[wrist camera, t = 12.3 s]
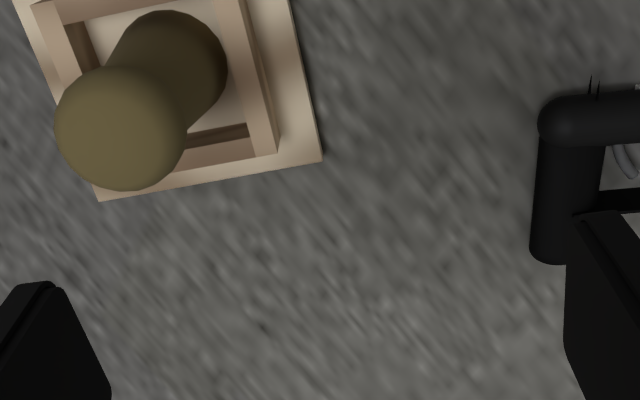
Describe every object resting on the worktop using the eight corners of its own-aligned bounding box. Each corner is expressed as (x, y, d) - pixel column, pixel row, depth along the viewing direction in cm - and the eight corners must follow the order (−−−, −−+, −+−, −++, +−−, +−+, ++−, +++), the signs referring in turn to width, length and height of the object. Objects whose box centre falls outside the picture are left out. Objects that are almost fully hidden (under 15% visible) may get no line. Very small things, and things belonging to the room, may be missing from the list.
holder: (7, -40, 32) (-30, -30, 28) (267, -100, 30) (259, -97, 27) (105, 192, 38) (84, 222, 35) (322, 152, 37) (322, 180, 33)
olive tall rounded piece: (209, -2, 31) (157, 53, 21) (241, 107, 34) (207, 200, 24) (99, 22, 32) (0, 87, 22) (139, 127, 35) (66, 226, 25)
